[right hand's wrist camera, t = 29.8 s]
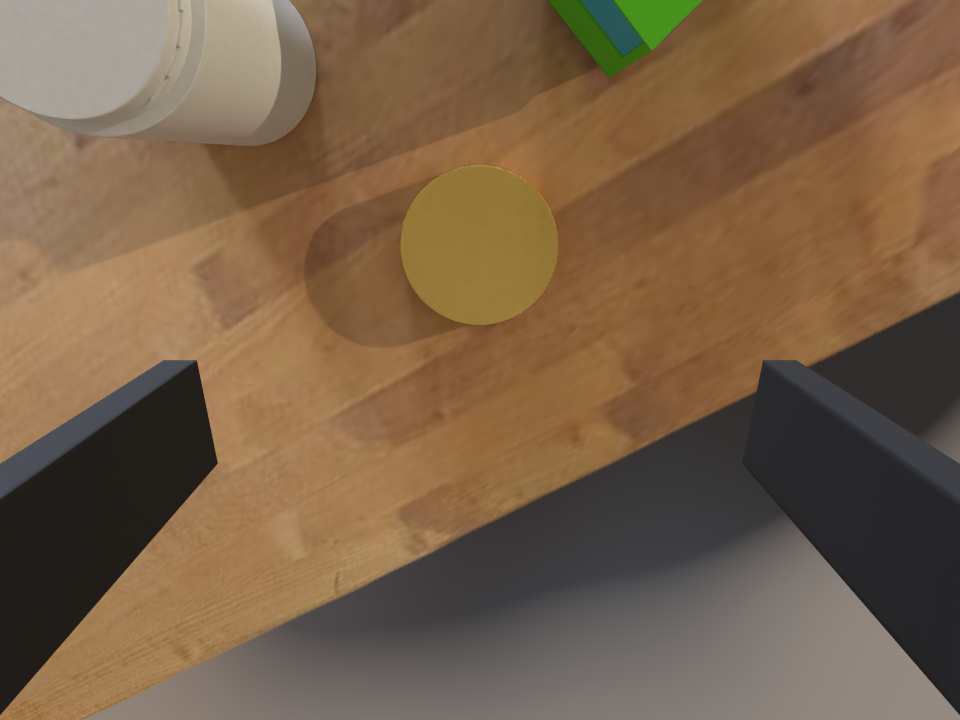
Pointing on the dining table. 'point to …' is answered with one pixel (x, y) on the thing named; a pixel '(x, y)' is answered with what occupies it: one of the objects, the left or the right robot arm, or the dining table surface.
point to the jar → (159, 67)
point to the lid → (479, 245)
